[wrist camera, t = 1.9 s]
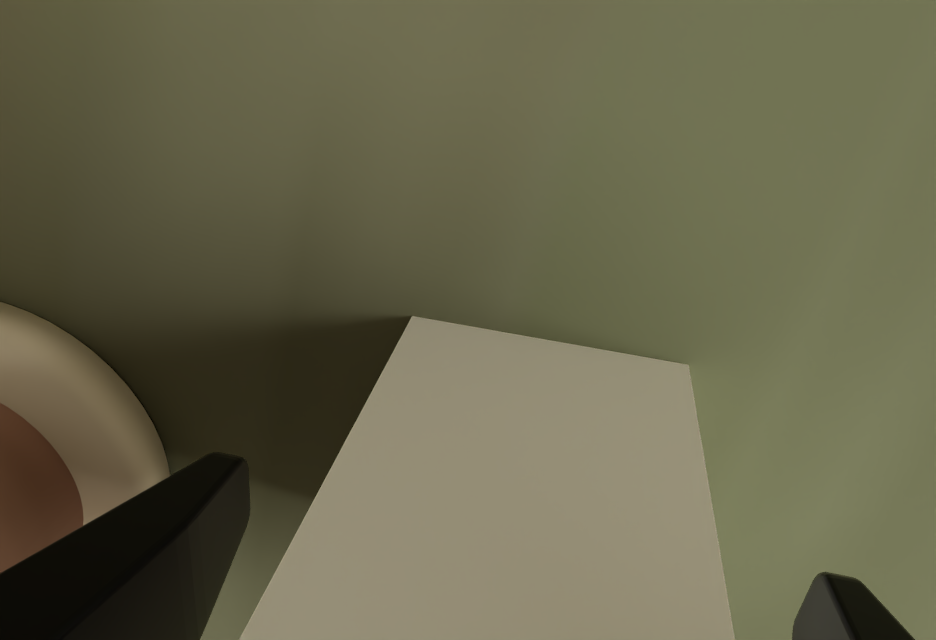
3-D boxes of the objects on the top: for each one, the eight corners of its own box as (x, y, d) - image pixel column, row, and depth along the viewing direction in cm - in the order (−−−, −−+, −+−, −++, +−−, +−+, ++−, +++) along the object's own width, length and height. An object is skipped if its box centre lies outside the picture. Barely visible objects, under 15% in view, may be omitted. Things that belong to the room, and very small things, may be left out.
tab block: (631, 573, 13) (645, 1171, 7) (394, 524, 13) (198, 1046, 7) (688, 364, 11) (782, 921, 5) (412, 315, 11) (168, 771, 5)
